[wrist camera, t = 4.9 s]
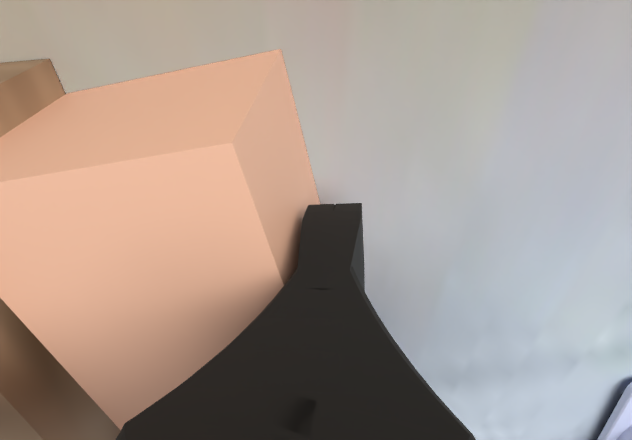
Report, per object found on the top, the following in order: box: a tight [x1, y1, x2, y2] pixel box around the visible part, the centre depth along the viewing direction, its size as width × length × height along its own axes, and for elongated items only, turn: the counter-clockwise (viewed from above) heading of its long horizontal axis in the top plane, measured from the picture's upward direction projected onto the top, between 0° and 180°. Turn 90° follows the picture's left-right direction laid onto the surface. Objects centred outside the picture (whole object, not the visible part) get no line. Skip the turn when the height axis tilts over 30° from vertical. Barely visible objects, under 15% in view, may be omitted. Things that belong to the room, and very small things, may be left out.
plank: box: [0, 59, 121, 440], centre depth 16 cm, size 24×2×6 cm, turn 6°
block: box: [0, 49, 320, 430], centre depth 11 cm, size 8×6×5 cm
